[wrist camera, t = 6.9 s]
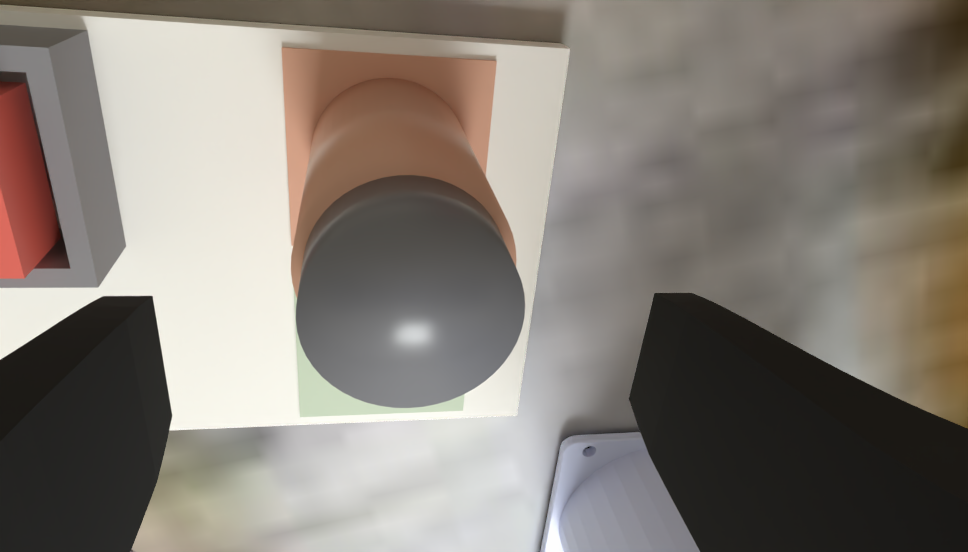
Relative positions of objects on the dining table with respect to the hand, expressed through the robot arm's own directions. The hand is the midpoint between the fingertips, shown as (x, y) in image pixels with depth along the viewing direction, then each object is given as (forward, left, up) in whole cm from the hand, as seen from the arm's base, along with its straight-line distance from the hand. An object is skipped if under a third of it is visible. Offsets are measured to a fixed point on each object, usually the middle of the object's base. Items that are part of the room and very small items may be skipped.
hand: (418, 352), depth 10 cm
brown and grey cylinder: (0, 0, -9) cm, 9 cm away
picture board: (+5, +3, -10) cm, 11 cm away
